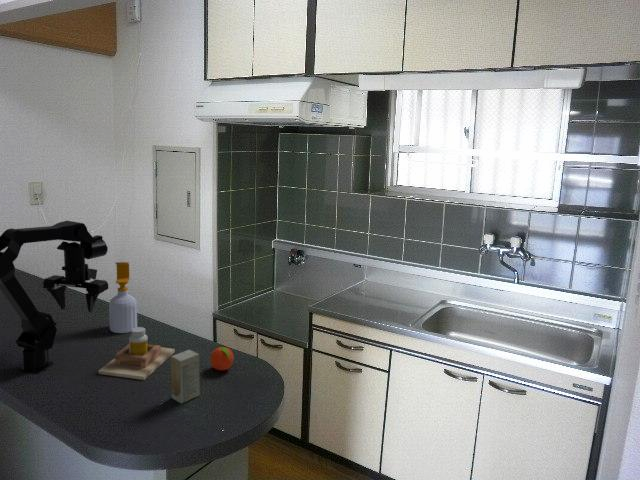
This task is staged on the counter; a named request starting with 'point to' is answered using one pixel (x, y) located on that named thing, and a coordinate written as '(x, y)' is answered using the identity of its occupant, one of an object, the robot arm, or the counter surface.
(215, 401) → the counter surface
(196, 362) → the skincare box
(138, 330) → the supplement bottle
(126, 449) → the counter surface
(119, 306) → the soap bottle
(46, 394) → the counter surface
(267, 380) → the counter surface
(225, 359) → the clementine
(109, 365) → the maple holder board
